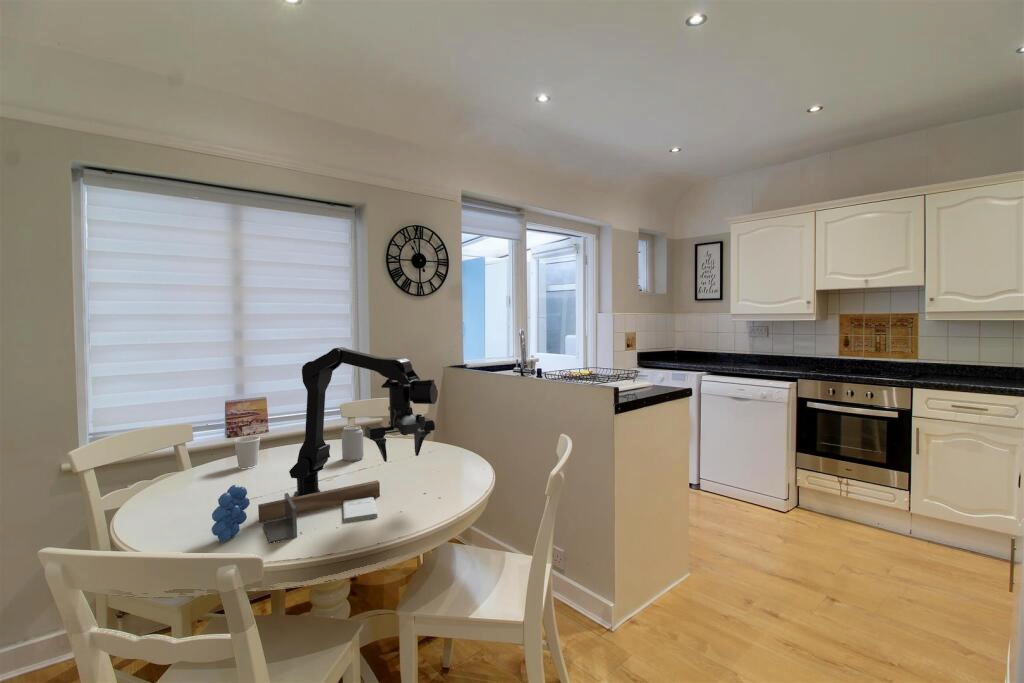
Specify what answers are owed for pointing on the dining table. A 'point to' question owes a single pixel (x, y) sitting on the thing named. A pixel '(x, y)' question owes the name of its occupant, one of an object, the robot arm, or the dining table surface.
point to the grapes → (230, 512)
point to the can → (352, 443)
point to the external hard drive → (359, 509)
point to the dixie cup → (247, 451)
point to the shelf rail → (319, 500)
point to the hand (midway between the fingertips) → (401, 458)
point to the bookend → (283, 524)
